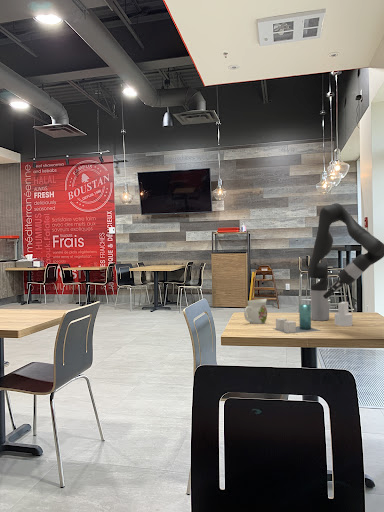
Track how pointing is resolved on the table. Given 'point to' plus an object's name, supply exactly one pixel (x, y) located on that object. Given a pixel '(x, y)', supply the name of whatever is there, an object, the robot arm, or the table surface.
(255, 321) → the pitcher
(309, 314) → the teal glass cylinder
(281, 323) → the cream cube
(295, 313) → the table surface
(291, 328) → the cream cube
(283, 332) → the slate board
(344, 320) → the base with upright slab
